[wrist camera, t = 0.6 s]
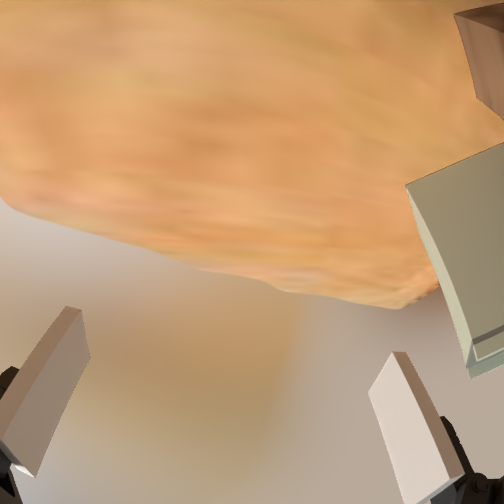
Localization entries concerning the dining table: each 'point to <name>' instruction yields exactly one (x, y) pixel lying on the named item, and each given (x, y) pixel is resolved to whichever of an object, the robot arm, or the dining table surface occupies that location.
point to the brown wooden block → (485, 52)
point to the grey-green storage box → (468, 250)
